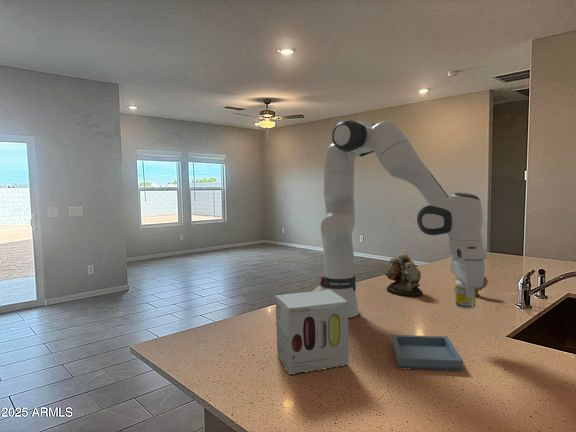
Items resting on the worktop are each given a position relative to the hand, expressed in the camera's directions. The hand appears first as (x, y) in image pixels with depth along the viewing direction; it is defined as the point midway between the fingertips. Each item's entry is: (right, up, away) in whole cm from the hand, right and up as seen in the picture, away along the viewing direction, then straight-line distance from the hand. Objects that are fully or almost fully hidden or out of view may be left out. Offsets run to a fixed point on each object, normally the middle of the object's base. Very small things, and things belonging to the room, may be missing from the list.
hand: (465, 294), depth 115 cm
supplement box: (-46, -18, -6) cm, 49 cm away
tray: (-14, -16, -6) cm, 22 cm away
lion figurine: (+25, -10, +50) cm, 57 cm away
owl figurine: (-1, -11, +57) cm, 58 cm away
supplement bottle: (0, -4, 0) cm, 4 cm away
